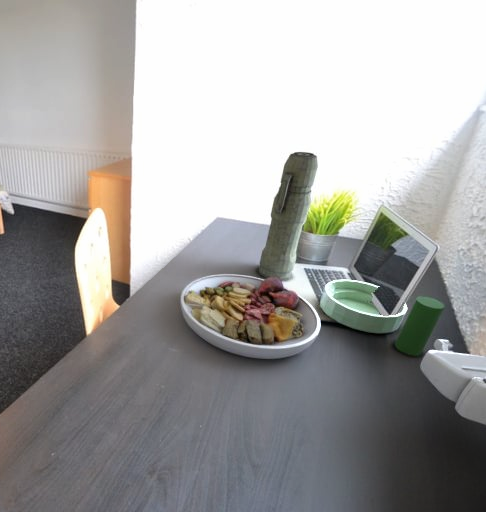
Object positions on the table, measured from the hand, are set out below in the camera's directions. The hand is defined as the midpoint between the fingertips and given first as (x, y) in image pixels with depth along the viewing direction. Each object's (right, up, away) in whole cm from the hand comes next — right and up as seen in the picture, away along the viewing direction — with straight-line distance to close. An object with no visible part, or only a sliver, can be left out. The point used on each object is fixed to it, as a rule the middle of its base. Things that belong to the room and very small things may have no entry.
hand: (471, 346), depth 63 cm
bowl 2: (+1, +1, +27) cm, 27 cm away
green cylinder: (+3, -4, +16) cm, 17 cm away
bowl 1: (-29, -1, +25) cm, 38 cm away
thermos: (-10, +10, +46) cm, 48 cm away
